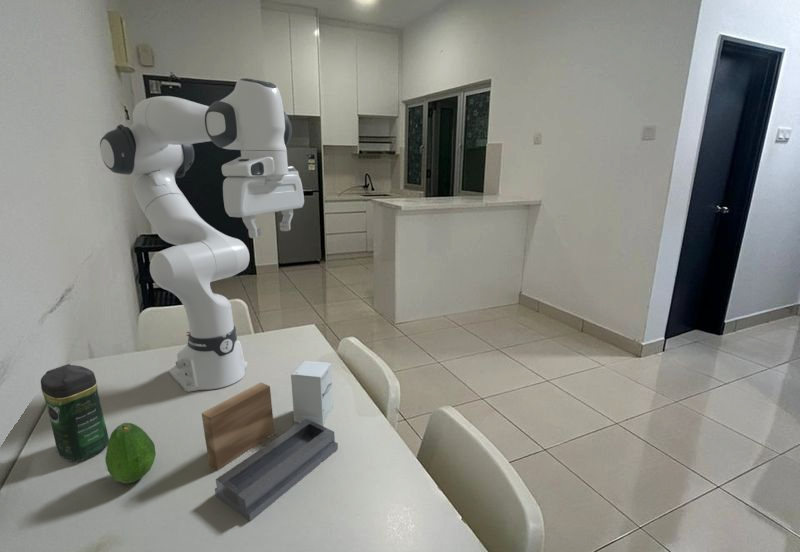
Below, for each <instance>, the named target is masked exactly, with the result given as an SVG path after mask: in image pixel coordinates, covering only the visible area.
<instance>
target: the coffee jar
mask: <svg viewBox="0 0 800 552" xmlns="http://www.w3.org/2000/svg"><path fill="white" fill-rule="evenodd" d="M40 387H41V391H42V396H43V398H44V401H45V404H46V407H47V412H48V416H49V420H50V425H51V428H52V429H51V430H52V433H53V438H54V442H55V447H56V451H57V452H58V454H59V455H60V456H61V457H62V458H64V459H65V460H67V461H70V462H79V461H83V460H86V459H89V458H92V457H94V456H96V455H97V453H98V454H99V453H101V452H102V451H103V450H105V449H107V448H108V443H109V439H110V436H109V433H108V430H107V425H106V422H105V418H104V417H105V416H104V413H103V409H102V404H101V401H100V396H99V390H98V383H97V379H96V376H95V372H94V370H91V369H89V368H87V367H85V366H81V365H77V364H76V365H74V364H70V363H69V364H63V365H62V366H59V367H55V368H52V369H50V370H49V369H48V370H47V371H46V372H45V373H44V374H43V375H42V377H41V379H40Z"/></svg>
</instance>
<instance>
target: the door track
mask: <svg viewBox="0 0 800 552" xmlns="http://www.w3.org/2000/svg"><path fill="white" fill-rule="evenodd" d="M335 436H336V435H335V431H334V430H332V429H330V428H327V427H325V426H323V425H319V424H317V423H315V422H313V421H311V420H308V419H305V420H303V421H302V422H300V423H297V424H296V425H294V426H292V427H291V428H290V429H288V430H287V431H286V432H284V433H282V434H281V435H280V436H278V437H277V438H275V439H273V440H272V441H270V442H269V443H268V444H266V445H265V446H263V447H261V448H260V449H259V450H257V451H256V452H254V453H253V454H251V455H250V456H248V457H247V458H245V459H244V460H242V461H240V462H239V463H238V464H236V465H235V466H234V467H232V468H230V469H229V470H228V471H226V472H224V473H223V474H222V475H220V476H218V477H217V478H215V483H216V485H215V486H216V488H214V492H215V493H214V494H215V497H217V498H218V499H219V500H221V501H222V502H223V503H225V504H226V505H227V506H229V507H230V508H232V509H233V510H234V511H236V512H237V513H238V514H240V515H241V516H243V517H244V518H245V519H246V520H248V521H249V522H251V521H252V520H254V519H256V517H257V516H259V514H261V513H263V512H264V511H265V510H266V509H267V508H269V507H270V506H271V505H272V504H274V502H276V501H277V500H278V499H279V498H281V497H282V496H283V495H284V494H285V493H287V492H288V491H290V489H291V488H293V487H294V486H295V485H296V484H297V483H299V482H300V481H301V480H302V479H303V478H305V477H306V476H307V475H308V474H310V473H311V472H312V471H313V470H315V469H316V468H317V467H318V466H319V465H321V464H322V463H323V462H324V461H325V460H327V459H328V458H329V457H330V456H331V455H333V454H334V453H335V452H336V451H338V450H339V445H338V442H336V439H335V438H336V437H335ZM337 449H338V450H337ZM332 453H333V454H332ZM322 461H323V462H322ZM321 462H322V463H321ZM320 463H321V464H320Z"/></svg>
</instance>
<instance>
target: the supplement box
mask: <svg viewBox="0 0 800 552" xmlns="http://www.w3.org/2000/svg"><path fill="white" fill-rule="evenodd" d="M332 376H333V375H332V363H331V362H324V361H323V362H322V361H311V360H303V361H302V362H301V363H300V364H299V365H298V367H297V368H296V369H295V370H294V371H293V372H292V373H291V374H290V380H291V392H292V395H291V396H292V407H293V408H292V409H293V420H294V421H293V422H294V423H297V424H299V423H300V422H302V421H303V420H305V419H308V420H311V421H313V422H315V423H317V424H319V425H321V426H323V425H324V424H325V421H326V420H327V418H328V417H329V415H330V414H331V413H332V410H333V409H334V398H333V397H334V396H333V377H332Z"/></svg>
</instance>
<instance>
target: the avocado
mask: <svg viewBox="0 0 800 552" xmlns="http://www.w3.org/2000/svg"><path fill="white" fill-rule="evenodd" d="M156 454H157V451H156V446H155V443H154V441H153V440H152V438H151V437H150V436H149V435H148V433H147V432H146V431H144V429H142V427H140V426H138V425H137V424H134V423H131V422H124V423H121V424H120V425H118V426H117V427H115V429H114V430H112V432H111V433H110V436H109V443H108V446H107V447H106V453H105V458H104V460H105V465H106V469H107V471H108V473H109V474H110V477H112V479H114V480H115V481H117V482H118V483H123V484H130V483H135V482H136V481H138V480H140V479H142V478H143V477H145V475H146V474H147V473H148V472H150V470H151V468H152V466H154V463H155V459H156Z"/></svg>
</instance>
